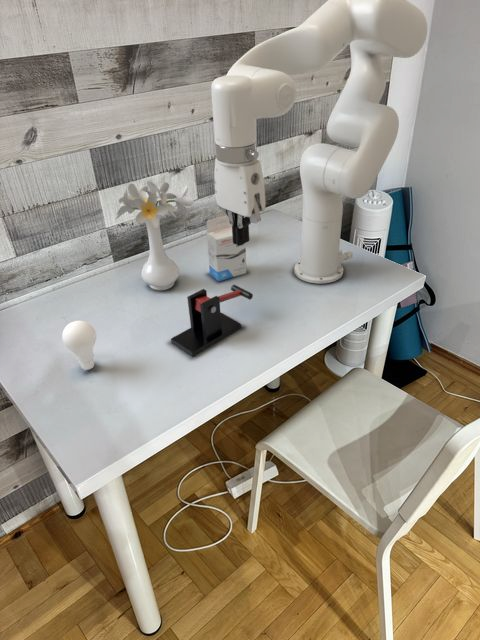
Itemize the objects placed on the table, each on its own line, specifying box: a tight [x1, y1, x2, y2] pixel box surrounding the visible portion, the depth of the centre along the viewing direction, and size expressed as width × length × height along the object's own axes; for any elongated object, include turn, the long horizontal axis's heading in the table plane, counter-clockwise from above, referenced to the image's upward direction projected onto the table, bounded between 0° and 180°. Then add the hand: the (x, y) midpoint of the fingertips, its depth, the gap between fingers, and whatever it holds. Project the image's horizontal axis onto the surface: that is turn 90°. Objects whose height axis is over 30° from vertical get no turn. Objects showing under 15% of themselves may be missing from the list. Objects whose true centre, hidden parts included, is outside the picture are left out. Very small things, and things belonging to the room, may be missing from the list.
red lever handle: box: [195, 284, 254, 312], centre depth 108 cm, size 13×6×2 cm, turn 136°
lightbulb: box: [61, 320, 97, 371], centre depth 98 cm, size 6×6×11 cm
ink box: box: [206, 216, 247, 282], centre depth 126 cm, size 8×5×15 cm, turn 123°
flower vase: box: [114, 180, 194, 291], centre depth 120 cm, size 13×18×25 cm
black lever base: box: [170, 288, 242, 358], centre depth 106 cm, size 14×7×10 cm, turn 136°
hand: (241, 242), depth 105 cm, fingers closed
